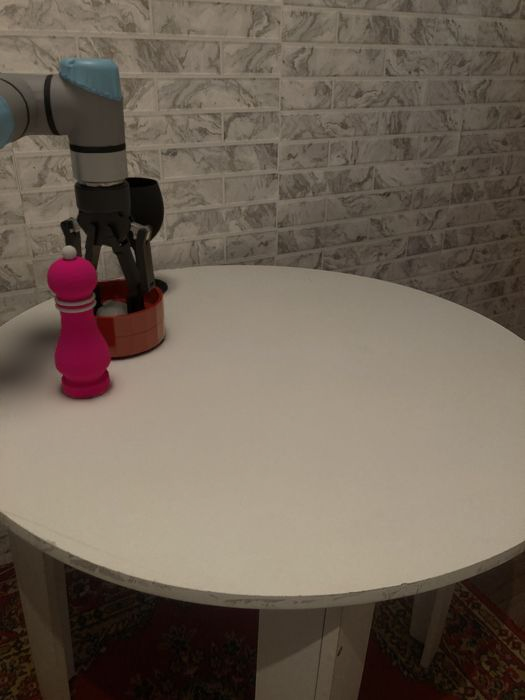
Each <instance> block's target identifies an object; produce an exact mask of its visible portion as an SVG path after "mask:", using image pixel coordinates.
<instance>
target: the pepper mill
mask: <svg viewBox="0 0 525 700" xmlns="http://www.w3.org/2000/svg"><path fill="white" fill-rule="evenodd" d="M76 255H77V252H76V249H75V248H74V247H72V246H66V245H65V246H63V248H62V249H61V256H62V257H61V258H58V259H56V260H54V261H53V262H52V263H51V264H50V266H49V267H48V269H47V272H46V273H47V274H46V282H47V286H48V288H49V290H50V291H51V292H53V294H55V295H54V296H53V297H54V298H53V300H54V303H55V304H54V306H55V309H56V310H58V311H59V315H60V332H59V335H58V336H59V337H58V339H57V342H56V345H55V349H54V365H55V369H56V370H57V371H58V373H60V374H61V375H62V376H61V379H60V381H61V388H62V392H63V393H64V394H65V393H66V394H65V395H66V396H68V395H69V396H68V397H70V398H74V397H76V398H75V399H89V398H88V397H90V398H94V397H97V396H100V395H101V394H104V393H105V392H106V391H107V390H108V389H109V388H110V386H111V380H110V379H111V378H110V372H109V370H108V368H109V366H110V365H111V363H112V362H111V361H112V357H111V355H110V350H109V347H108V345H107V343H106V341H105V339H104V338H103V336H102V334H101V333H100V331H99V329H98V327H97V325H96V322H95V318H94V313H93V307H94V306H95V305H96V300H95V293H94V292H92V291H93V290H94V288H95V287H96V285H97V281H98V274H97V271H96V270H95V268H94V266H93V265H92V264H91V263H90V262H89V261H88V260H86V259H84V257H82V258H81V257H76Z"/></svg>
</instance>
